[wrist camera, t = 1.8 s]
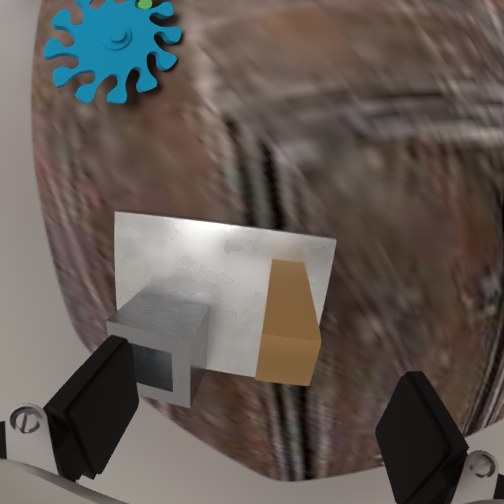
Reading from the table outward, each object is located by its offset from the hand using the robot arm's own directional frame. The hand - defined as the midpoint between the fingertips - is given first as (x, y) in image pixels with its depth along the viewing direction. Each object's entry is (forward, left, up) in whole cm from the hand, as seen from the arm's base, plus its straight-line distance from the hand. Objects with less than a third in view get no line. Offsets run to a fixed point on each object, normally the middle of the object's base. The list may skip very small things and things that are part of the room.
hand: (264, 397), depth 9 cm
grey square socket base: (+4, +3, -13) cm, 14 cm away
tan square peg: (-1, 0, -12) cm, 12 cm away
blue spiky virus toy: (+13, -16, -13) cm, 24 cm away
